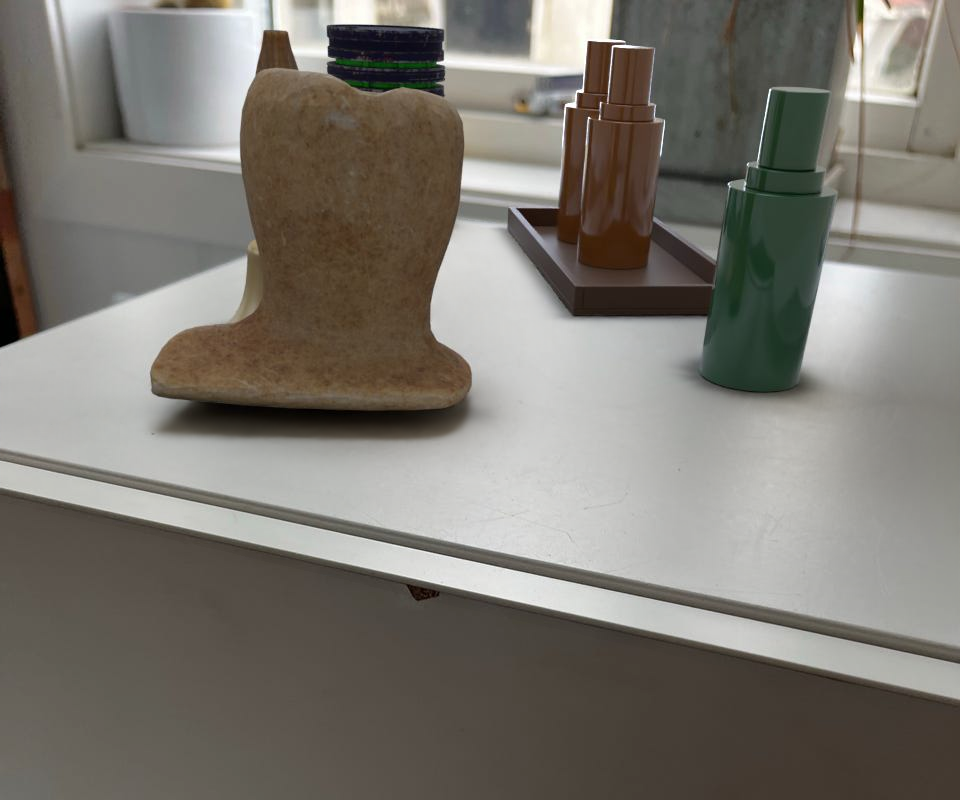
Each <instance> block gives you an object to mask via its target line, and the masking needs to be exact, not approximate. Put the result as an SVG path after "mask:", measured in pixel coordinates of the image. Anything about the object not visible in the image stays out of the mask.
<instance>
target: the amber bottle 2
mask: <svg viewBox="0 0 960 800" xmlns="http://www.w3.org/2000/svg"><path fill="white" fill-rule="evenodd" d="M655 53H656V48H655V47H651V46H643V45H642V46H641V45H625V46H613V47H612V55H611V66H610V77H609V88H608V99H607V100H605V101H601V102H600V111H599V114H597V115H591V116H589V117H588V123H587V136H586V148H585V160H584V172H583V184H582V196H581V208H580V221H579V233H578V245H577V257H576V258H577V261H578V262H580V263H582V264H585V265H588V266H592V267H597V268H604V269H619V270H622V269H636V268H641V267H644V266H646V265H647V264H648V258H649V250H650V242H651V233H652V225H653V217H655V209H656V208H655V207H656V201H657V190H658V183H659V175H660V174H659V173H660V165H661V157H662V148H663V142H664V141H663V140H664V132H665V124H666V120H665V119H663V118H660V117H656V116H655V114H656V106H657V104H655V103H653V102H650V96H651V87H652V78H653V70H654V61H655Z"/></svg>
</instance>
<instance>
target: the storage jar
mask: <svg viewBox="0 0 960 800" xmlns="http://www.w3.org/2000/svg"><path fill="white" fill-rule="evenodd" d="M326 37H327V38H328V46H326V47H327V48H326V49H327V57H328V58H330V59H334V60H330V61H326V66H327V67H326V74H330V75H332V76H334V77H336V78H338V79H340V80H342V81H344V82H346V83H348V84H349V85H350V86H351V87H354V88H357V89H359V90H361V91H366V92H376V93H383V92H386V91H390V90H393V89H398V88H401V87H404V88H410V89H417V90H421V91H425V92H429V93H432V94H435V95H439V96H441V97H443V98H445V97H446V94H445V85H444V84H441V83H443V82H445V81H446V66H445V65H443V64H440V62H444V61H445V50H444V49H443V47H444V46H443V43H444V41H445V29H444V28H437V27H429V26H427V27H426V26H412V25H395V24H393V25H392V24H359V23H358V24H357V23H356V24H355V23H354V24H352V23H348V24H347V23H342V24H341V23H340V24H338V23H337V24H327V25H326ZM438 63H439V64H438Z"/></svg>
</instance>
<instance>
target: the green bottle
mask: <svg viewBox="0 0 960 800" xmlns="http://www.w3.org/2000/svg"><path fill="white" fill-rule="evenodd" d="M831 98H832V91H831V90H828V89H824V88H823V89H822V88H816V87H815V88H814V87H800V86H773V87H770V88H769V91H768V96H767V102H766V108H765V113H764V114H765V115H764V120H763V127H762V132H761V137H760V138H761V139H760V143H759V150H758V156H757V160H756V161H750V162H748V163H747V164H746V169H745V174H744V175H745V176H744V178H743V179H736V180H732V181H730V182H728V183H727V189H726V195H725V202H724V209H723V214H722V222H721V229H720V234H719V241H718V246H717V254H716V259H715V260H716V266H715V272H714V279H713V285H712V291H711V298H710V304H709V311H708V314H707V318H706V324H705V331H704V335H703V336H704V338H703V343H702V349H701V357H700V363H699V374H700V375H701V376H702V377H703V378H704V379H705V380H707V381H709V382H711V383H714V384H716V385H718V386H722V387H725V388H730V389H732V390H733V389H734V390H739V391H746V392H757V393H758V392H759V393H760V392H763V393H766V392H768V393H769V392H771V393H772V392H781V391H786V390H788V389H791V388H794V387H795V386H796V385H797V384H798V383H799V381H800V375H801V370H802V367H803V361H804V357H805V351H806V346H807V341H808V338H809V332H810V328H811V323H812V318H813V314H814V308H815V305H816V299H817V295H818V290H819V285H820V280H821V277H822V272H823V266H824V261H825V258H826V257H825V256H826V253H827V248H828V243H829V239H830V233H831V229H832V223H833V219H834V214H835V210H836V205H837V200H838V195H839V191H838V190H837V189H835V188H833V187H831V186H827V185H825V180H826V175H827V169H826V167H824V166H820V165H818V164H819V159H820V154H821V148H822V144H823V140H824V139H823V138H824V134H825V130H826V129H825V128H826V124H827V119H828V114H829V109H830V103H831Z"/></svg>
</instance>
